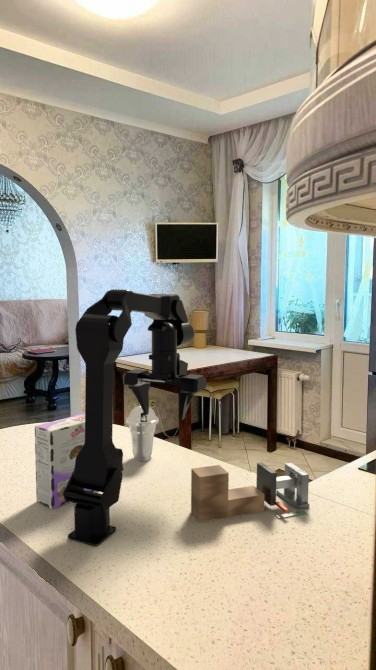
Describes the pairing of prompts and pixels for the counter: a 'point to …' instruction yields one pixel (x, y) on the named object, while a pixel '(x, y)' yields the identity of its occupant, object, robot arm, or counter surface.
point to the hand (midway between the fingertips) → (164, 416)
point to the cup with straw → (142, 432)
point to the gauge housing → (298, 498)
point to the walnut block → (221, 495)
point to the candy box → (57, 457)
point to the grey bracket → (273, 484)
